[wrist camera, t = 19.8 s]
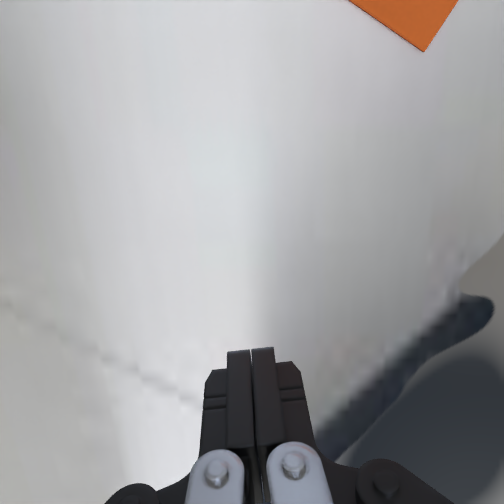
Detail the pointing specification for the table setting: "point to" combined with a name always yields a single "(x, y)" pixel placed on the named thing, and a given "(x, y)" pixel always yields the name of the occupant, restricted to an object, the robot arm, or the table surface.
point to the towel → (410, 17)
